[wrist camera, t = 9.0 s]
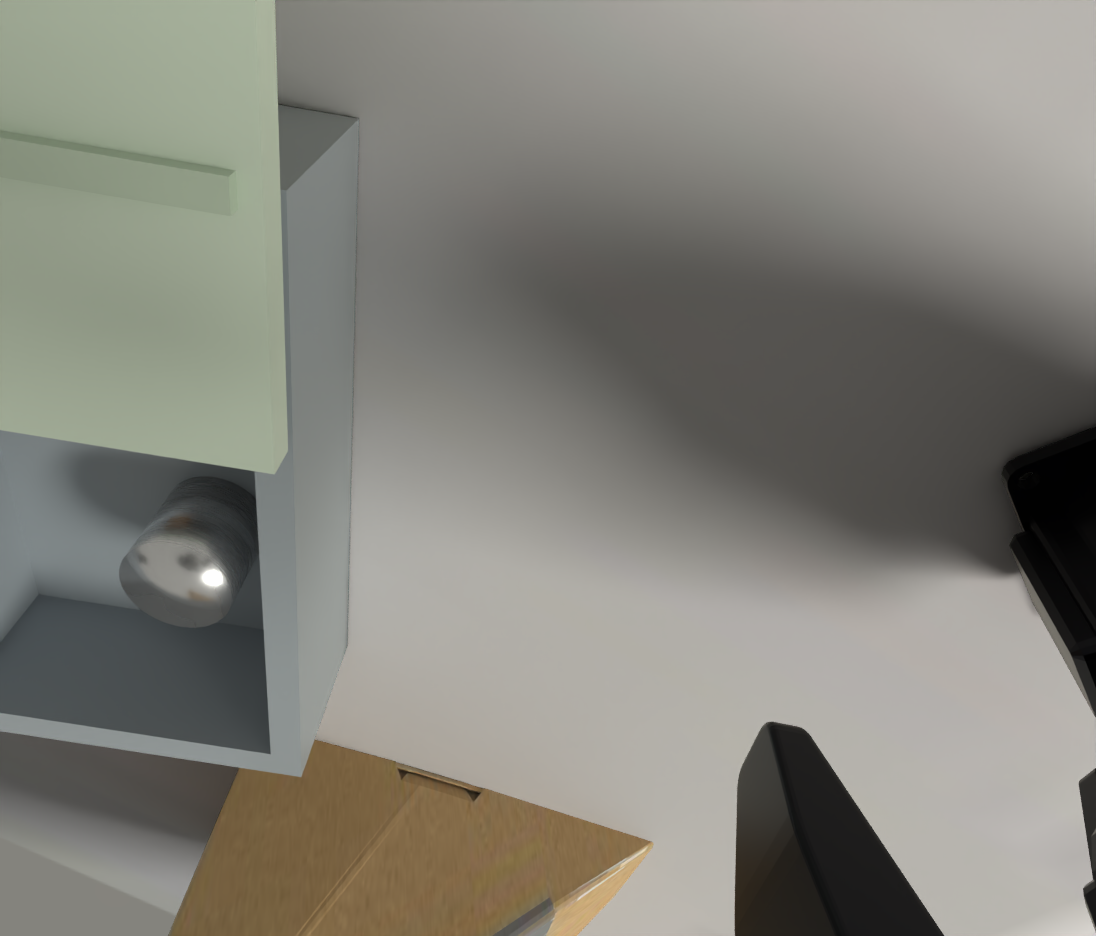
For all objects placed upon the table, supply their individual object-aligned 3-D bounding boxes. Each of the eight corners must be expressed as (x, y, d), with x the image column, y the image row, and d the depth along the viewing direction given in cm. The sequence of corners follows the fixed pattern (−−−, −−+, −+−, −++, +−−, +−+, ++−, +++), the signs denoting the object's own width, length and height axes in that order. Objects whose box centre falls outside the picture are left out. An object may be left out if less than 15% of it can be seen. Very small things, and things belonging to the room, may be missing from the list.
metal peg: (219, 460, 23) (174, 527, 21) (290, 534, 24) (255, 604, 22) (145, 501, 24) (95, 569, 22) (217, 569, 25) (176, 641, 23)
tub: (-124, 35, 18) (-333, 84, 14) (359, 118, 18) (286, 190, 14) (28, 595, 27) (-73, 720, 23) (347, 645, 27) (301, 776, 24)
